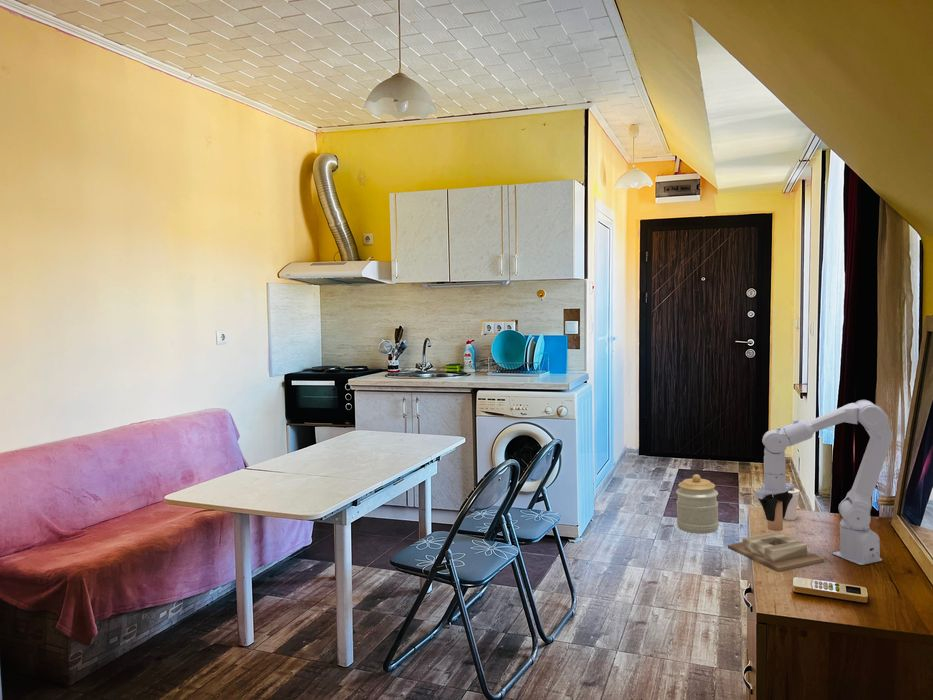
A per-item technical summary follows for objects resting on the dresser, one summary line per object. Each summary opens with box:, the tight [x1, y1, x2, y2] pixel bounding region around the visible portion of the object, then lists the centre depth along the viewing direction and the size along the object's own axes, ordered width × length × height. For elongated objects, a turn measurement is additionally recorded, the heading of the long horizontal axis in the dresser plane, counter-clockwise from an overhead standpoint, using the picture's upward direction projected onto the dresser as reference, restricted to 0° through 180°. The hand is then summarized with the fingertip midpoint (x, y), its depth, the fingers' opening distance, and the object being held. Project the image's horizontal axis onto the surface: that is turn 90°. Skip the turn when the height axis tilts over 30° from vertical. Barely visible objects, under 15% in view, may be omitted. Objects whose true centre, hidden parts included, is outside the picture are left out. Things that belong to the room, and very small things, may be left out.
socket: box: [727, 531, 825, 572], centre depth 200 cm, size 20×16×4 cm
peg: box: [767, 500, 784, 532], centre depth 202 cm, size 4×4×8 cm
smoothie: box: [783, 476, 801, 521], centre depth 231 cm, size 6×6×14 cm
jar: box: [675, 473, 720, 534], centre depth 226 cm, size 13×13×18 cm
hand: (775, 518), depth 201 cm, fingers closed on peg, 4 cm apart
